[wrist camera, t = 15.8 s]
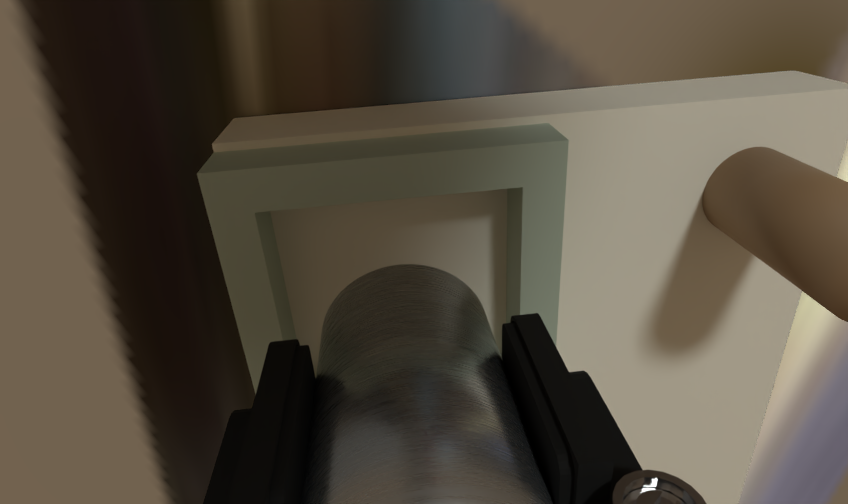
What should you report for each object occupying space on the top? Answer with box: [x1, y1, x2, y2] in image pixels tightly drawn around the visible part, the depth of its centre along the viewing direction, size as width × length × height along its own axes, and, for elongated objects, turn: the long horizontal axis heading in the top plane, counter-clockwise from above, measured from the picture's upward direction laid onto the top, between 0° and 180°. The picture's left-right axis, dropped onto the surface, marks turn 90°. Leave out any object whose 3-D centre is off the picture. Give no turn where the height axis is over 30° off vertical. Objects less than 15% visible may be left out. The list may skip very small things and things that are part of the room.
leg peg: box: [301, 264, 553, 504], centre depth 10 cm, size 4×4×8 cm
